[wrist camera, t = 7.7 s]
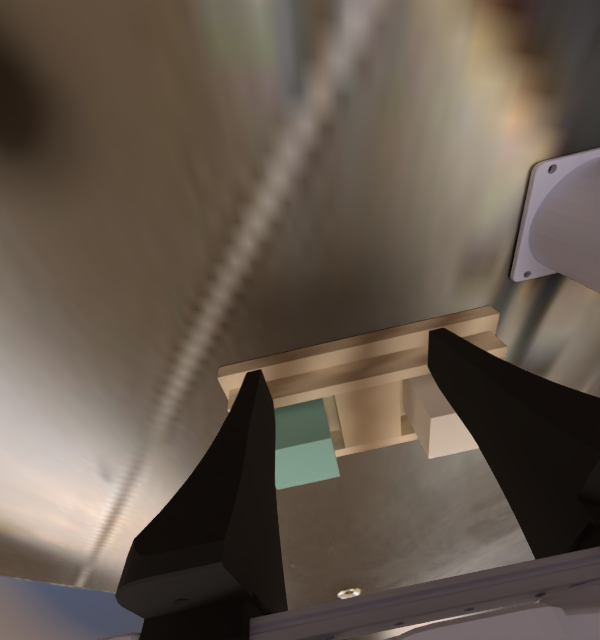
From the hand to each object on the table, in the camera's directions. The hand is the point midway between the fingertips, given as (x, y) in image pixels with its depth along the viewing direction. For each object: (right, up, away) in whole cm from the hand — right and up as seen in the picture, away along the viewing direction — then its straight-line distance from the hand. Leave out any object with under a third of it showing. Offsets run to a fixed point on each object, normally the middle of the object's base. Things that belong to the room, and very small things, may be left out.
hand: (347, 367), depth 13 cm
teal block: (-2, -6, +13) cm, 15 cm away
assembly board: (+3, -4, +14) cm, 15 cm away
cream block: (+9, -3, +13) cm, 17 cm away
